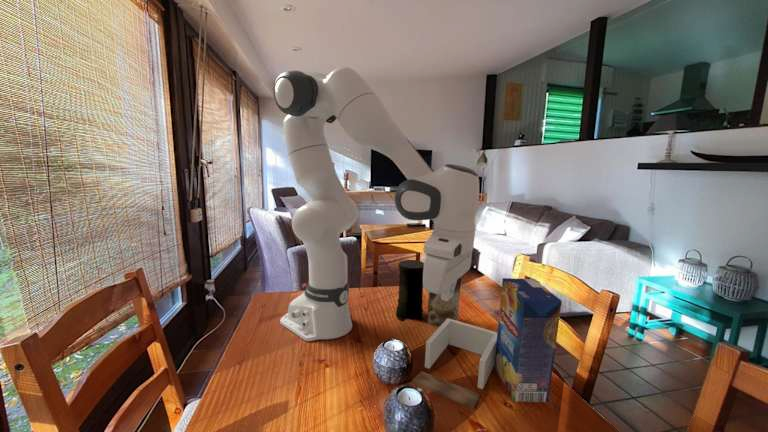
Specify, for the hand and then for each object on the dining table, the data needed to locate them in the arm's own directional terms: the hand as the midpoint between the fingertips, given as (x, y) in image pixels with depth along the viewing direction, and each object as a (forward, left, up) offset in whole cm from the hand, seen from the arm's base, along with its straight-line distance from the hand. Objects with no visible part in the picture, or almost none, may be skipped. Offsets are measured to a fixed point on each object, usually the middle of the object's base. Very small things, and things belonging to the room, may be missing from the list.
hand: (446, 298), depth 76 cm
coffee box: (-10, +25, -20) cm, 33 cm away
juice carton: (+16, +6, -20) cm, 26 cm away
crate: (+3, +6, -20) cm, 21 cm away
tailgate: (+3, -1, -18) cm, 19 cm away
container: (-20, +22, -20) cm, 36 cm away
